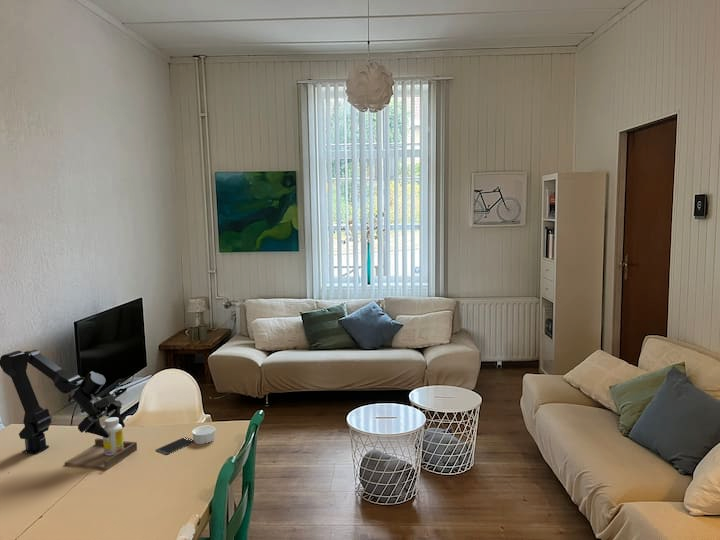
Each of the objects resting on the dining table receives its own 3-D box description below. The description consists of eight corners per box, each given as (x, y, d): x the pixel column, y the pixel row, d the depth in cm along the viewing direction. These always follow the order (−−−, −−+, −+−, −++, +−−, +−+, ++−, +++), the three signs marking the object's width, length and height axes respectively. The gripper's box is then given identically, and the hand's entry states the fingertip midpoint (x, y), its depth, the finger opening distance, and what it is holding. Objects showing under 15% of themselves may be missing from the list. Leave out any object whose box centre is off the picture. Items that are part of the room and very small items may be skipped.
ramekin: (220, 438, 203) (220, 428, 203) (203, 447, 196) (202, 436, 195) (205, 434, 208) (204, 423, 207) (187, 442, 200) (187, 431, 200)
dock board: (64, 465, 183) (64, 457, 183) (97, 445, 198) (96, 438, 198) (107, 469, 179) (106, 461, 178) (137, 449, 194) (136, 442, 194)
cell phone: (197, 442, 201) (197, 440, 200) (166, 456, 189) (166, 454, 189) (185, 438, 205) (185, 436, 205) (154, 451, 193) (154, 449, 193)
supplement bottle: (124, 447, 194) (122, 414, 193) (123, 454, 188) (121, 420, 187) (104, 450, 192) (102, 417, 191) (103, 457, 186) (101, 424, 184)
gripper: (82, 396, 179) (113, 428, 178) (116, 379, 197) (144, 408, 197) (64, 416, 181) (94, 448, 180) (99, 398, 199) (126, 427, 199)
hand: (116, 431), depth 189 cm, fingers open, 9 cm apart
